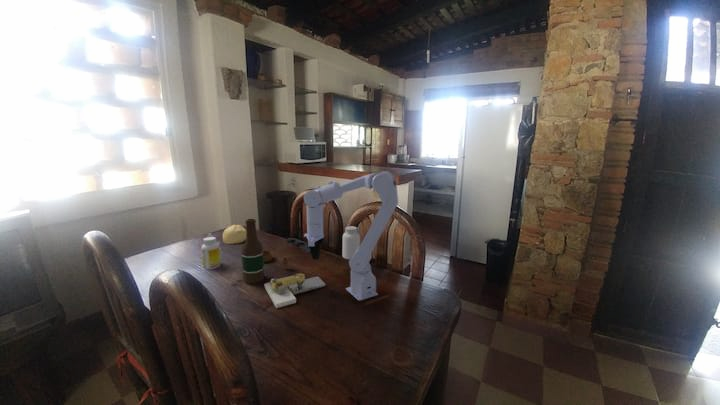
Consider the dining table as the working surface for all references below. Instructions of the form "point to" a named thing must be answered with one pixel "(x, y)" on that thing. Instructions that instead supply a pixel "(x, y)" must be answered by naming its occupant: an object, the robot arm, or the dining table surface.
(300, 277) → the latch arm
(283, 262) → the brown rounded lump
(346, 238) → the pill bottle
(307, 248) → the dark slate chunk
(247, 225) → the beer bottle
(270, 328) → the dining table surface
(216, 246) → the supplement bottle
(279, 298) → the door board
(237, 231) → the steamed bun
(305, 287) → the plate
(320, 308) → the dining table surface
